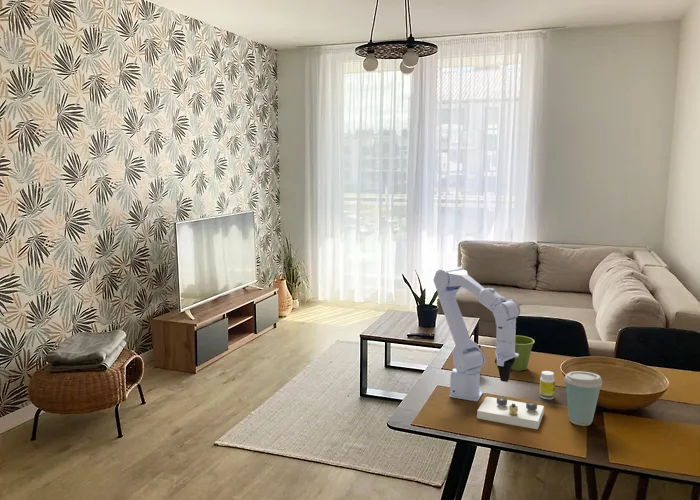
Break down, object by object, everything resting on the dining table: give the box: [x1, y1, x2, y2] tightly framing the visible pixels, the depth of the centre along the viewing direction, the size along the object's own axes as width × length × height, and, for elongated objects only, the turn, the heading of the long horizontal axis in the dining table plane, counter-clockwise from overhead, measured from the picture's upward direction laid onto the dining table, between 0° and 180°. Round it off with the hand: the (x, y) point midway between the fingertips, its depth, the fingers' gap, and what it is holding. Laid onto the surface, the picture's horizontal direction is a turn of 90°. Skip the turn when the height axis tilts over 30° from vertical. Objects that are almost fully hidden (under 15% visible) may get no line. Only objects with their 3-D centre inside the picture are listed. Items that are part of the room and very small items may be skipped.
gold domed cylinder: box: [509, 404, 518, 416], centre depth 174 cm, size 2×2×3 cm
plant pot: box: [511, 334, 536, 372], centre depth 219 cm, size 12×12×11 cm
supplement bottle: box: [539, 370, 556, 400], centre depth 192 cm, size 5×5×8 cm
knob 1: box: [496, 397, 508, 408], centre depth 180 cm, size 3×3×4 cm
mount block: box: [476, 396, 545, 430], centre depth 178 cm, size 18×12×2 cm, turn 63°
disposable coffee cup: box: [564, 370, 603, 427], centre depth 173 cm, size 11×11×15 cm
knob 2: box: [525, 401, 538, 412], centre depth 176 cm, size 3×3×4 cm
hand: (504, 380), depth 181 cm, fingers closed
